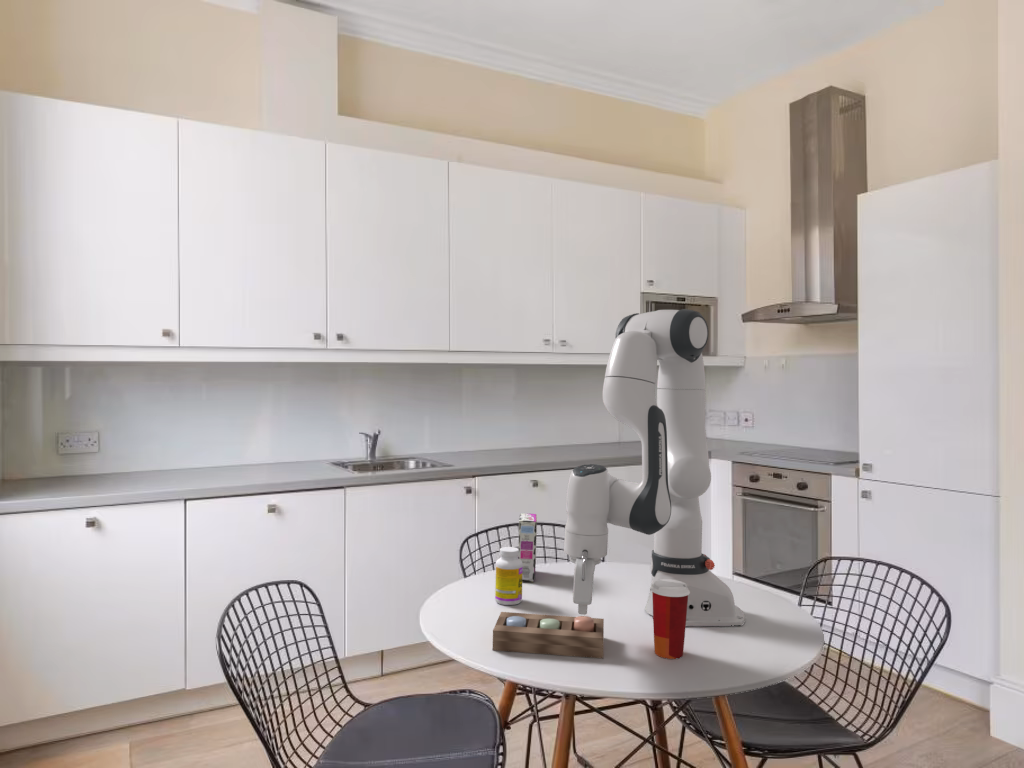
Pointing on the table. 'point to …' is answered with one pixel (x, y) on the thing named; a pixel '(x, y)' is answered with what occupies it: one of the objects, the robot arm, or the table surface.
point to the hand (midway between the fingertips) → (582, 612)
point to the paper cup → (669, 617)
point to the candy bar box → (527, 545)
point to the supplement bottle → (508, 577)
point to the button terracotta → (584, 624)
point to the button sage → (549, 624)
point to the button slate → (516, 621)
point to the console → (548, 637)
